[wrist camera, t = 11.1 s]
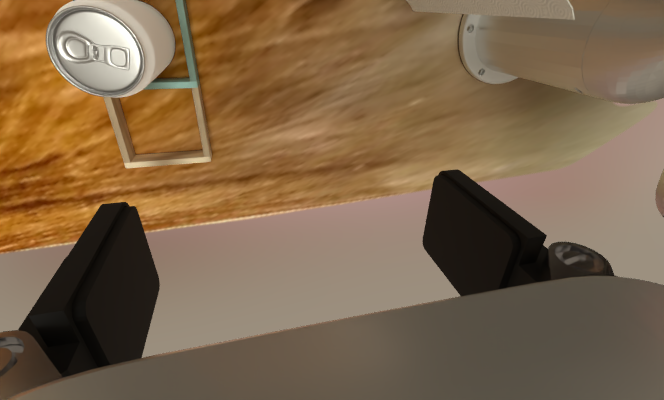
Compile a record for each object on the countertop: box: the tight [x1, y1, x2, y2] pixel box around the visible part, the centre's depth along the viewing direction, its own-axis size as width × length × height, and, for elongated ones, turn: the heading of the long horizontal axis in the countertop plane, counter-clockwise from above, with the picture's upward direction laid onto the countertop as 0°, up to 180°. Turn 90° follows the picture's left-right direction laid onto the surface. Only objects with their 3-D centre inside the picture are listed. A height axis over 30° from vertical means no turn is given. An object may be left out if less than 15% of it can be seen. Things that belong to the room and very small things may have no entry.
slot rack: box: [73, 0, 212, 168], centre depth 32 cm, size 9×25×2 cm, turn 179°
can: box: [46, 0, 175, 98], centre depth 27 cm, size 6×6×12 cm
